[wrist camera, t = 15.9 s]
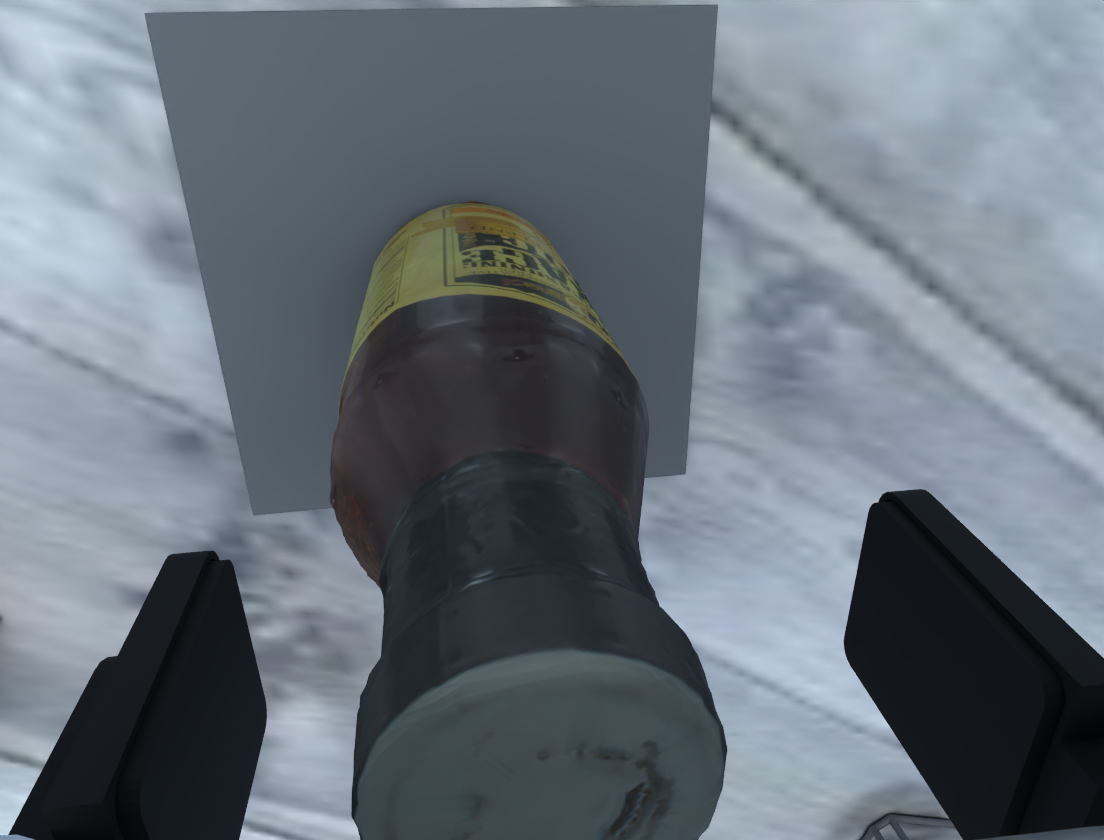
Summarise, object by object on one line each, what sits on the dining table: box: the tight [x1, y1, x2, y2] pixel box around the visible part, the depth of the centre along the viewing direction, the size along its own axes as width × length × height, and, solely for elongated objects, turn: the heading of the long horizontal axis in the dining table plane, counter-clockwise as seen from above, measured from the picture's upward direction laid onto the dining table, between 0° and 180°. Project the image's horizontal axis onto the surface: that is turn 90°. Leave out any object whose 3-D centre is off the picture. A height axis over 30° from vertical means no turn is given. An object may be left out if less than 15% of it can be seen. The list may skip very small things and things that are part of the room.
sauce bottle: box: [329, 201, 727, 840], centre depth 17 cm, size 7×6×20 cm
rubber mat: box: [145, 5, 718, 515], centre depth 26 cm, size 16×16×1 cm
